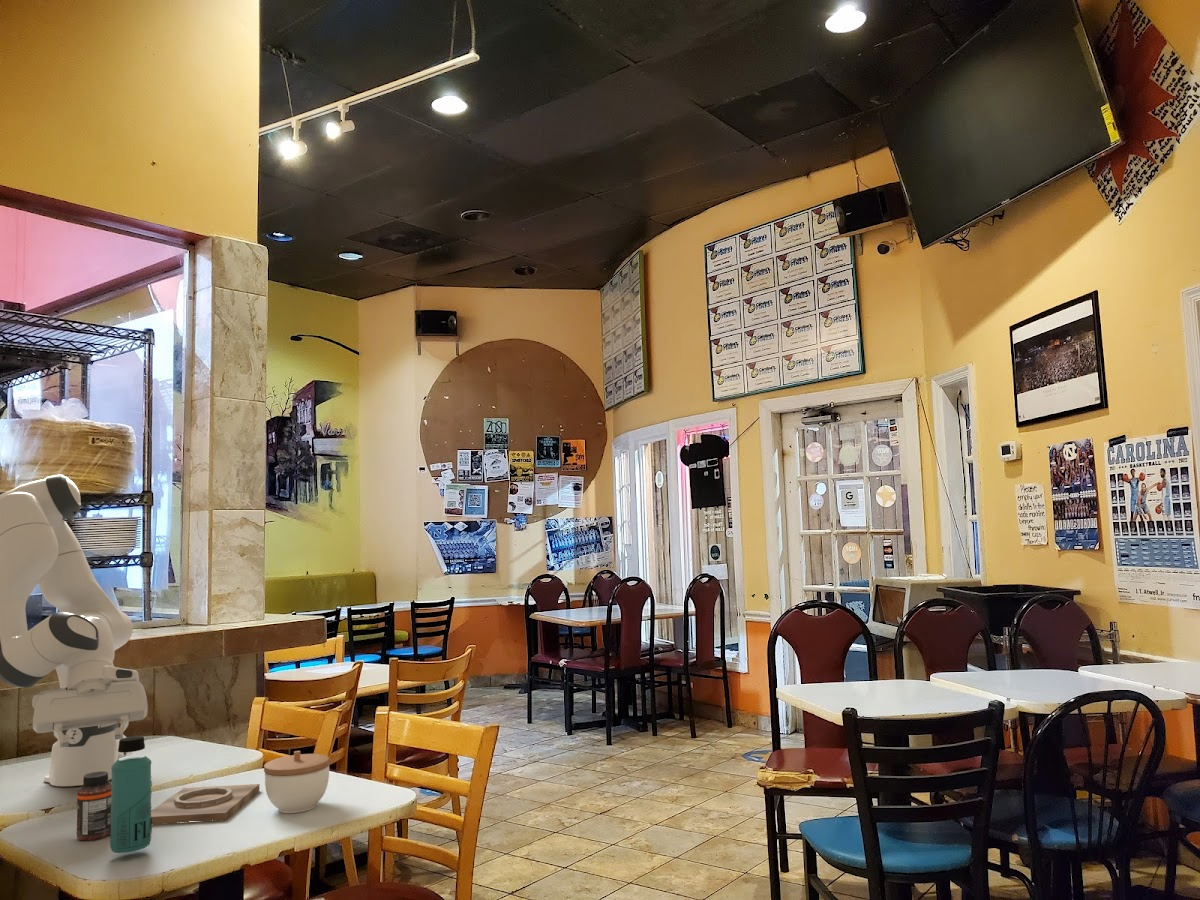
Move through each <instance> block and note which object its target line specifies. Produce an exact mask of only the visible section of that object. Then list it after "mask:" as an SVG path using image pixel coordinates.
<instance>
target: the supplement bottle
mask: <svg viewBox="0 0 1200 900" xmlns="http://www.w3.org/2000/svg"><path fill="white" fill-rule="evenodd" d="M83 783H84V784H83V785H81V787H79V788H78V791H77V792H76V793H77V794H76V796H77V799H76V839H78V840H80V841H84V842H85V841H87V842H90V841H89V840H91V841H94V840H95V841H96V839H97V840H101V839H103V838H105V837H108V836H110V830H111V815H110V814H111V808H110V807H111V791H112V782H109V780H108V772H104V771H101V772H93V773H89V774H86V775H84V779H83Z"/></svg>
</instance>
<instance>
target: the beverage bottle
mask: <svg viewBox="0 0 1200 900" xmlns="http://www.w3.org/2000/svg"><path fill="white" fill-rule="evenodd" d="M126 737H127V738H123V739H121V740H120V741H119V748H118V752H132V753H133V752H139V751H142V750H145V747H146V744H145V737H144V736H142V735H134V736H126ZM111 770H112V779H111V784H112V791H111V807H110V808H111V814H110V815H111V830H110V835H109V841H110V849H111V852H112V853H117V854H125V853H130V852H131V853H132V852H136V851H140V850H143V849H145V848H147V847H148V846H149V845H151V841H152V833H153V829H152V828H153V827H152V826H153V825H152V819H151V810H152V798H153V797H152V793H153V791H152V786H153V784H152V783H153V780H152V779H153V778H152V760H151V758H149V757H147V756H146V755H144V754H132V755H131V756H125V757H122V758H119V759H118V760H117V761H116V762H115V763H114V764H113V765H112V767H111Z"/></svg>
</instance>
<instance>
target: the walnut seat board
mask: <svg viewBox="0 0 1200 900" xmlns="http://www.w3.org/2000/svg"><path fill="white" fill-rule="evenodd" d="M260 785H261V784H259V783H256V784H255V783H253V784H238V785H237V784H234V785H218V786H216V785H215V786H200V787H183V788H182V789H180V790H179V791H177V792H176V793H174V794H173V795H172V796H170V797H168V798H167V799H165V800H164V801H163V802H161V803H160V804H158V805H157V806H156V807H154V808H151V819H152V824H159V825H167V824H166V823H177V822H189V821H212V820H213V821H212V822H220V821H219V820H223V821H222V822H224V821H225V820H226V821H227V820H228V819H229V818H230V817H231V816H233V815H234V814H235V813H236V812H237V811H238V810H240V809H241V808H242V807H243V806H245V804H247V801H248V800H249V799H250V798H251V799H252V798H254V796H255V794H256V793H257V792H258V791H259V790H260V789H261V788H260ZM260 791H261V790H260ZM260 791H259V792H260ZM259 792H258V793H259ZM258 793H257V794H258ZM257 794H256V795H257ZM251 799H250V800H251ZM250 800H249V801H250ZM239 808H240V809H239ZM215 820H216V821H215ZM164 823H165V824H164ZM177 824H178V823H177Z"/></svg>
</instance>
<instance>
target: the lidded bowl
mask: <svg viewBox="0 0 1200 900" xmlns="http://www.w3.org/2000/svg"><path fill="white" fill-rule="evenodd" d="M330 762H331V759H330V757H329V756H328V755H326V754H321V753H303V754H302V753H301V750H295V751H293V754H292V755H285V756H283V757H277V758H274V759H272V760H269V761H268V762H266V763H265V764H264V765H263V772H264V787H265V792H266V796H267V798H268V800H269V801H270V803H271V804H272V805H273V806H274V807H275V808H277V810H278V812H279V813H282V814H297V813H304V812H308V811H310V810H313V809H314V808H316V806H317V804H318V803H319V801H320V800H321V799H322V798H323V796H324V795H325V793H326V791H327V787H328V784H329V780H330V779H329V778H330V764H331V763H330Z"/></svg>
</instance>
